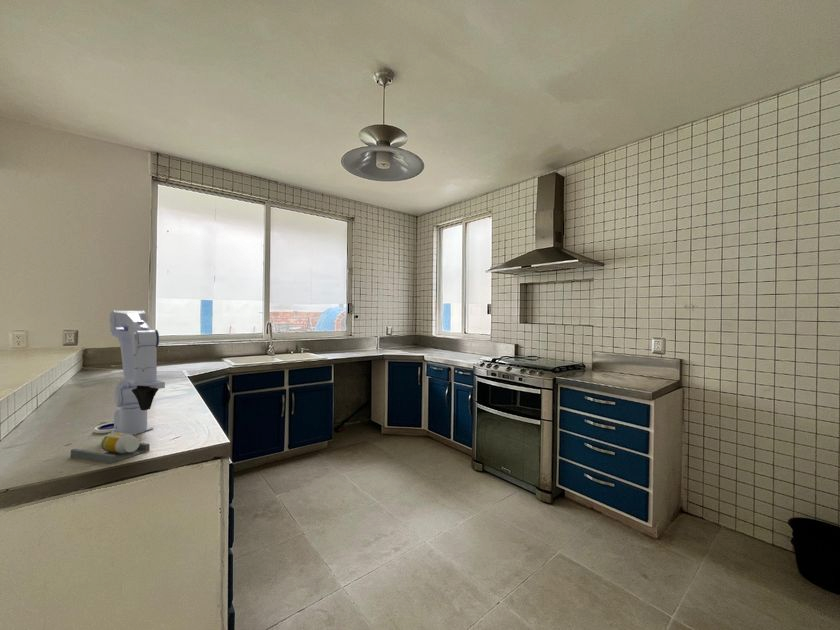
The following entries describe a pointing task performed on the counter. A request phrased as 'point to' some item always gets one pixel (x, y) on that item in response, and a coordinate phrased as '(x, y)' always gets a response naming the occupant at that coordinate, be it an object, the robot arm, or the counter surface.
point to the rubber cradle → (108, 454)
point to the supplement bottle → (119, 443)
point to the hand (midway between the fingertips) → (145, 409)
